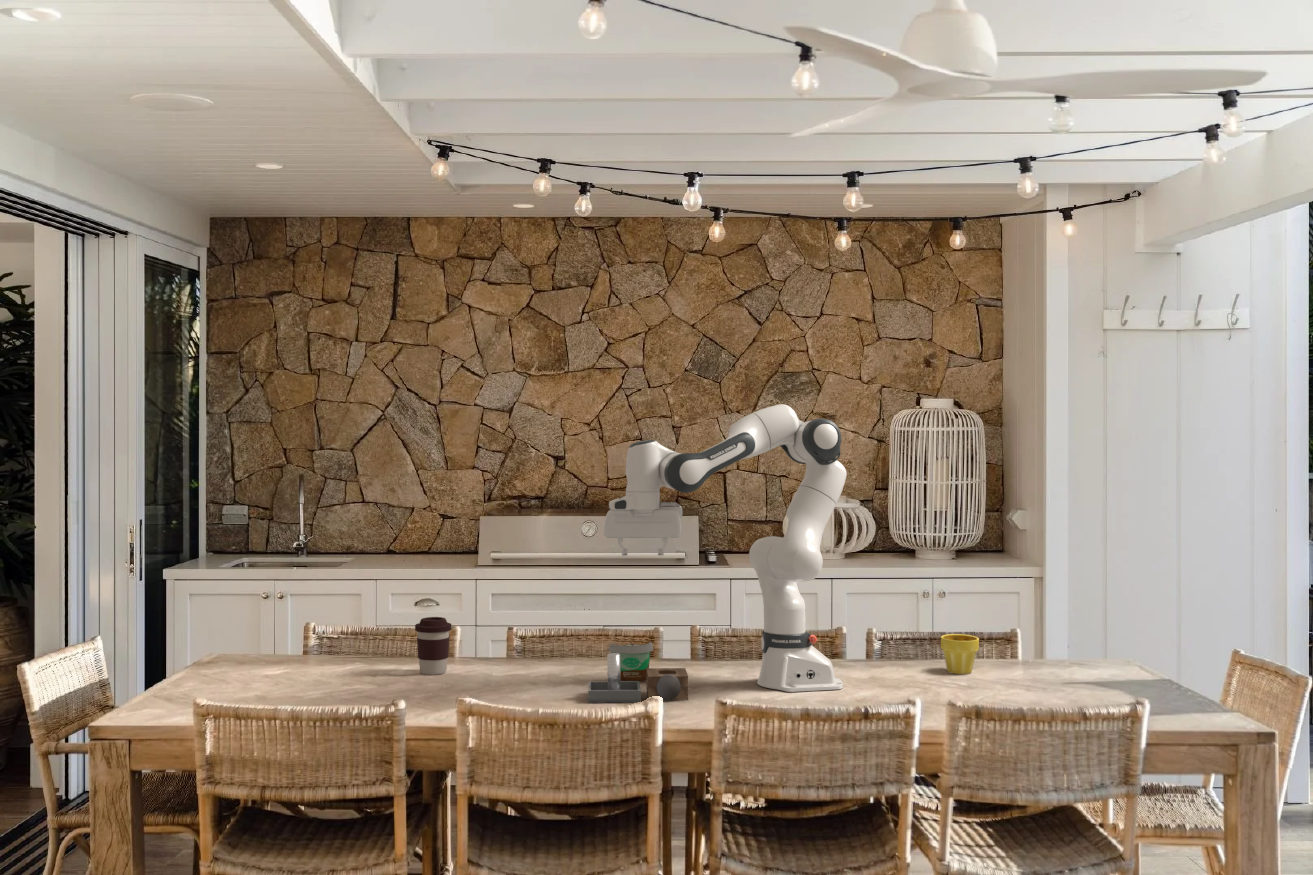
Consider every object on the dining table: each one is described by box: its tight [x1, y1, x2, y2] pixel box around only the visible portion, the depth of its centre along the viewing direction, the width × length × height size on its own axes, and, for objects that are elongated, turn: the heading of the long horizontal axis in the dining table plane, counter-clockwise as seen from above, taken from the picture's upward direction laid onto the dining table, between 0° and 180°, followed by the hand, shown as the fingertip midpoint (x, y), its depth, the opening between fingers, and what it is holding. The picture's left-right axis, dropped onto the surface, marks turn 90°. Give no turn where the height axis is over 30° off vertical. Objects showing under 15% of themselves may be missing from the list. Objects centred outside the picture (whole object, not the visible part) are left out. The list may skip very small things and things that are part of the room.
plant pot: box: [940, 633, 980, 675], centre depth 338 cm, size 10×10×10 cm
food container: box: [608, 640, 654, 683], centre depth 324 cm, size 12×6×10 cm, turn 105°
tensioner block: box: [646, 667, 689, 701], centre depth 305 cm, size 10×12×6 cm
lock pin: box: [606, 652, 621, 690], centre depth 304 cm, size 3×3×10 cm
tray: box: [587, 680, 642, 704], centre depth 304 cm, size 13×11×3 cm
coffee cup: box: [414, 616, 453, 676], centre depth 333 cm, size 10×10×15 cm
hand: (642, 555), depth 313 cm, fingers open, 8 cm apart
